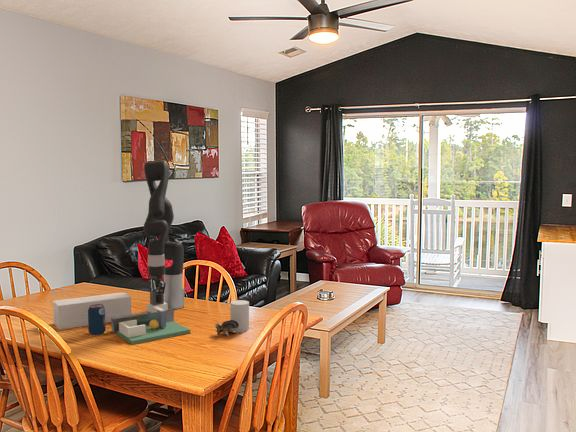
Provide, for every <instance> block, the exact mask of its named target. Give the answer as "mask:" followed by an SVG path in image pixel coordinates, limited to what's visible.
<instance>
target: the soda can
mask: <svg viewBox="0 0 576 432" xmlns="http://www.w3.org/2000/svg"><path fill="white" fill-rule="evenodd" d="M87 326H88V327H87V329H88V333H89V335H90V336H95V337H96V336H102V335H103V334H104V333H105V332H106V329H107V328H106V323H105V308H104V305H102V304H95V305H91V306H89V309H88V325H87Z"/></svg>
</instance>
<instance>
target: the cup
mask: <svg viewBox="0 0 576 432" xmlns="http://www.w3.org/2000/svg"><path fill="white" fill-rule="evenodd" d="M229 310H230V311H229V312H230V313H229V314H230V320H234V321H236V322H237V323H238V324H239V326H238V328H233V329H231V330H233V332H234V331H235V332H236V333H244V332H243V331H245V332H247V330H248V331H249V330H250V302H249V300H244V299H243V300H241V299H237V300H231V301H230V309H229Z"/></svg>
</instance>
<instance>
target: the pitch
mask: <svg viewBox="0 0 576 432" xmlns="http://www.w3.org/2000/svg"><path fill="white" fill-rule="evenodd" d="M186 334H191V329H190V328H188V327H187V326H184V325H182V324H180V323H179V322H175V320H174V321H172V322H166V327H164V328H161V327H159V326H158V328H156V329H151V328H150V326H146V334H145V335H140V336H135V337H129V338H128V337H126V336H125V335H123V334H122V333H120V332H119V331H117V332H116V335H117V336H119V337H120V338H121V339H123V340H124V341H125V342H127V343H129V344H130V345H132V346H133V345H137V344H142V343H146V342H147V343H148V342H152V341H156V340H157V341H158V340H163V339H168V338H173V337H176V336H177V337H178V336H182V335H186Z"/></svg>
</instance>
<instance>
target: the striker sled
mask: <svg viewBox="0 0 576 432" xmlns="http://www.w3.org/2000/svg"><path fill="white" fill-rule="evenodd" d="M161 298H162V302H161V303H156V290H152V291H150V290H149V303H146V304H145V305H146V306H145V308H146V311H145V312H150V313H153V312H157V318H158V322H159V327H161V328H164V327H166V311H165V310H168V304H167V303H165V302H164V294H162V295H161Z"/></svg>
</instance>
